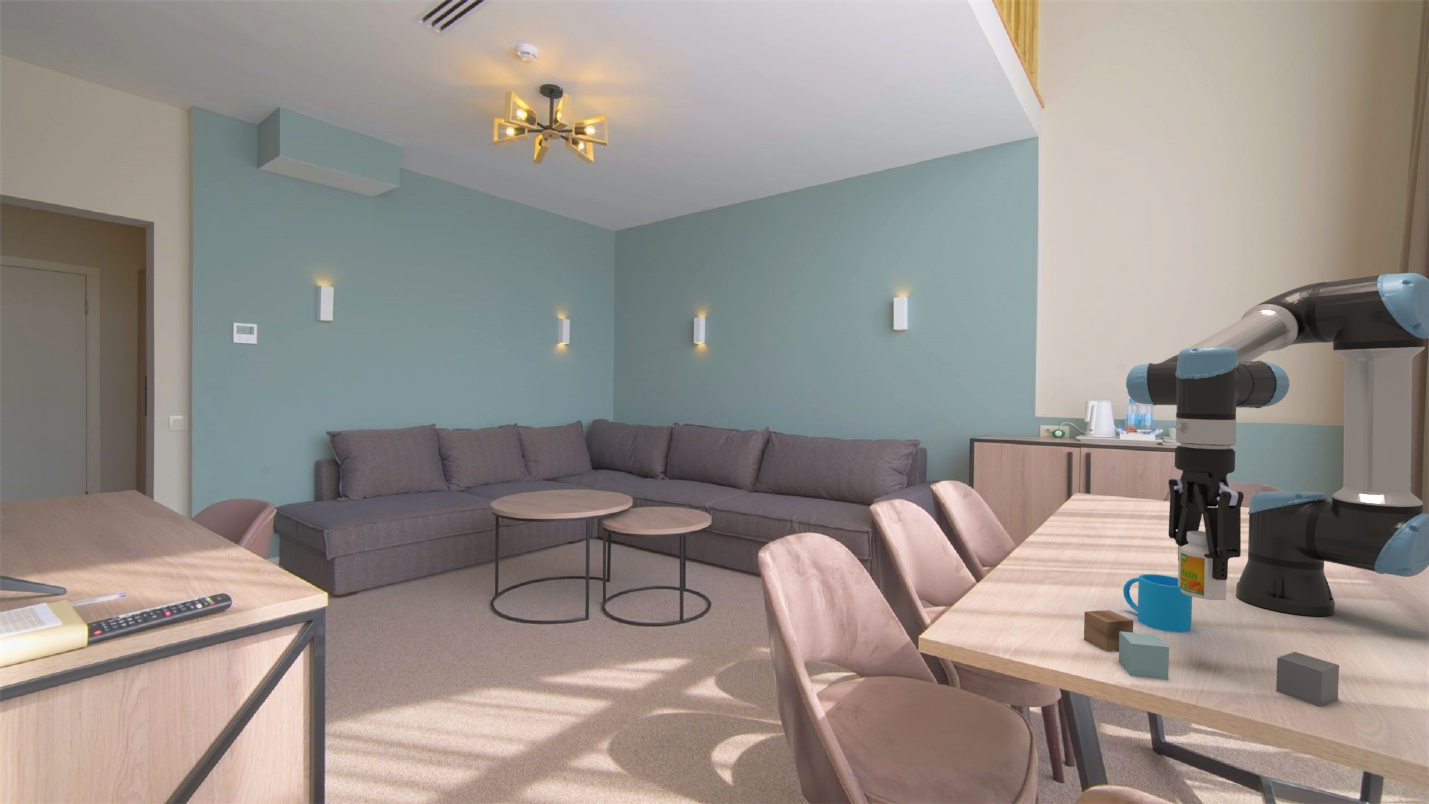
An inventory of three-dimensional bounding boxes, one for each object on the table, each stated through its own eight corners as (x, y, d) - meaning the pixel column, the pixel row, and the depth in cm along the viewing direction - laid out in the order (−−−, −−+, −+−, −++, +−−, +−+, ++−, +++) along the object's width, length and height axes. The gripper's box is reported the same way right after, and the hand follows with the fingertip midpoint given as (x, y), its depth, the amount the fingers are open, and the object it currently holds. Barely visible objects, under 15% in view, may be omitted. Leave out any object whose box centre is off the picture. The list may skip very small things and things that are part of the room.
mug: (1201, 629, 116) (1203, 584, 116) (1171, 634, 113) (1172, 589, 113) (1137, 607, 128) (1139, 567, 127) (1108, 612, 125) (1109, 570, 124)
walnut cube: (1108, 638, 112) (1109, 609, 111) (1132, 649, 107) (1133, 620, 107) (1083, 640, 111) (1084, 611, 111) (1106, 651, 106) (1107, 621, 106)
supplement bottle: (1171, 589, 103) (1172, 529, 103) (1202, 588, 104) (1203, 529, 103) (1199, 600, 98) (1200, 537, 98) (1232, 599, 98) (1233, 537, 98)
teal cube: (1154, 666, 100) (1155, 634, 100) (1168, 680, 96) (1169, 647, 96) (1118, 662, 102) (1119, 631, 102) (1130, 676, 97) (1131, 643, 97)
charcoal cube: (1293, 684, 95) (1294, 651, 94) (1337, 699, 90) (1339, 664, 90) (1276, 691, 92) (1277, 657, 92) (1320, 707, 88) (1322, 671, 88)
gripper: (1144, 440, 110) (1141, 574, 110) (1221, 451, 91) (1217, 612, 92) (1190, 441, 109) (1187, 575, 110) (1277, 452, 91) (1272, 614, 91)
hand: (1201, 592), depth 101 cm, fingers closed on supplement bottle, 5 cm apart
